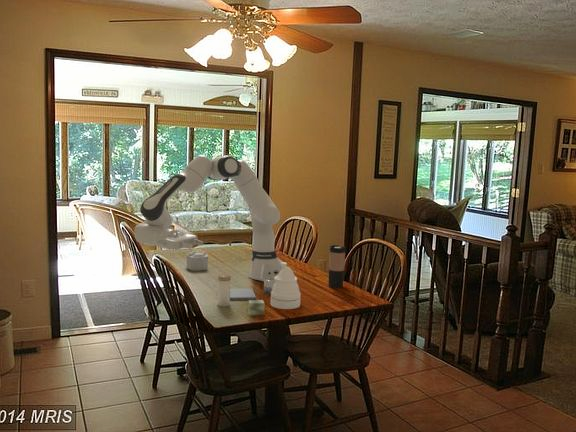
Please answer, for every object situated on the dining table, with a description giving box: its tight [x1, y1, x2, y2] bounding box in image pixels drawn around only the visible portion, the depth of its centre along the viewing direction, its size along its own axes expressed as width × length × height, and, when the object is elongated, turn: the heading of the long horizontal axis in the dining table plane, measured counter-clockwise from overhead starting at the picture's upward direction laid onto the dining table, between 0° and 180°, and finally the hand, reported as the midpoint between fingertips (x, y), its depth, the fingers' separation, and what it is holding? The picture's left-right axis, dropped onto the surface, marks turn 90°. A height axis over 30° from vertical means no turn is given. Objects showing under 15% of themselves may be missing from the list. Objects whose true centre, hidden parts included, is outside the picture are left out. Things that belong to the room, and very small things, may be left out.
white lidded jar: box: [217, 274, 232, 307], centre depth 216 cm, size 5×5×12 cm
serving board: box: [230, 287, 257, 301], centre depth 230 cm, size 16×14×1 cm
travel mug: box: [327, 244, 346, 289], centre depth 250 cm, size 8×8×20 cm
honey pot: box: [270, 261, 302, 310], centre depth 219 cm, size 13×13×18 cm
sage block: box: [247, 299, 265, 316], centre depth 206 cm, size 6×4×5 cm, turn 100°
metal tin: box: [263, 278, 276, 295], centre depth 236 cm, size 6×6×6 cm
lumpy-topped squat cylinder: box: [186, 250, 209, 272], centre depth 278 cm, size 10×13×9 cm
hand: (197, 244), depth 218 cm, fingers open, 8 cm apart
